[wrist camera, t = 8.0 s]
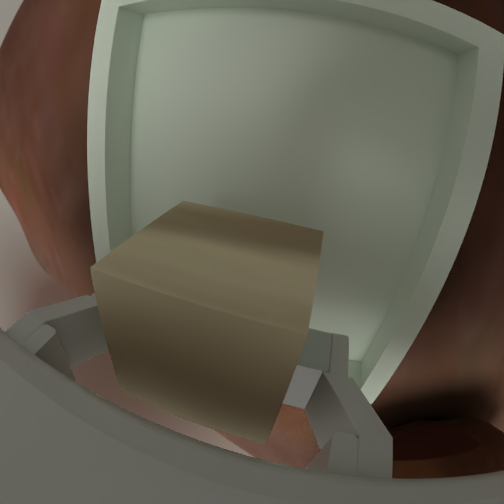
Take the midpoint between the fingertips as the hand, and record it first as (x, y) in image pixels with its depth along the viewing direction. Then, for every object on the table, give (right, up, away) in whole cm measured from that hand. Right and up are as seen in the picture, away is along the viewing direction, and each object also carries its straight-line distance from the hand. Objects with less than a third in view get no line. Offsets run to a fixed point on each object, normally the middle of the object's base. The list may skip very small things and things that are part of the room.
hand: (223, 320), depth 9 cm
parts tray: (+2, +5, +3) cm, 5 cm away
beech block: (+1, +1, +1) cm, 2 cm away
